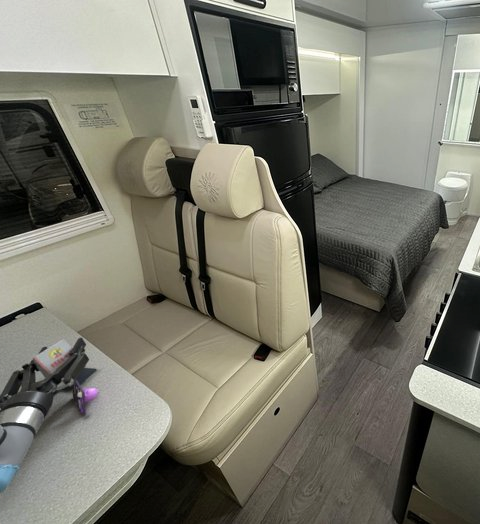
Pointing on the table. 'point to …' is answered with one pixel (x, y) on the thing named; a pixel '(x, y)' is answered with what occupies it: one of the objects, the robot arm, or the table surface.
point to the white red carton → (53, 358)
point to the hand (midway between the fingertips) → (64, 345)
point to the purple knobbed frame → (83, 396)
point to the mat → (84, 375)
